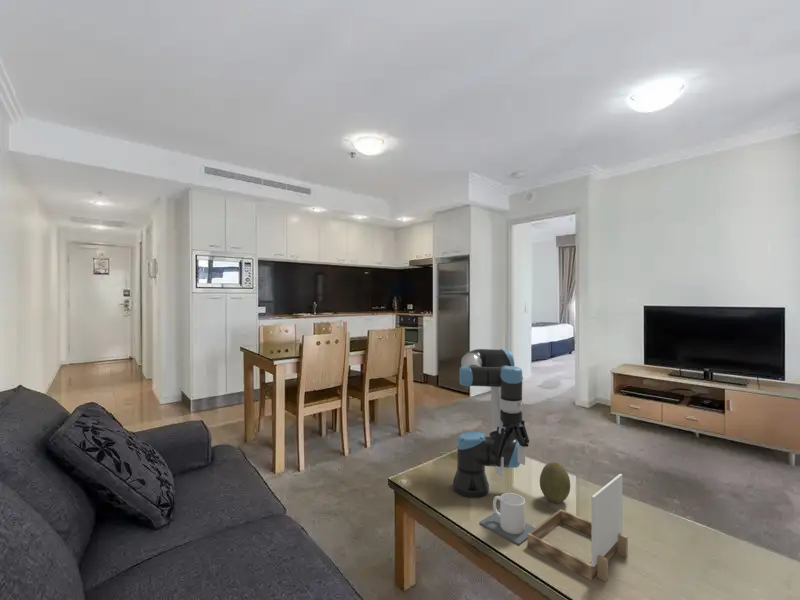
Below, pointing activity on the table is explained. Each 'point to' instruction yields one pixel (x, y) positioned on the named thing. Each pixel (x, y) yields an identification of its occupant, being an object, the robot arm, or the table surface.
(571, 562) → the frame
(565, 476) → the fruit
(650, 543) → the table surface
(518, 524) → the cup
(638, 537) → the table surface
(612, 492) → the lid
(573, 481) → the table surface
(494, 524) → the mat
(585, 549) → the table surface
